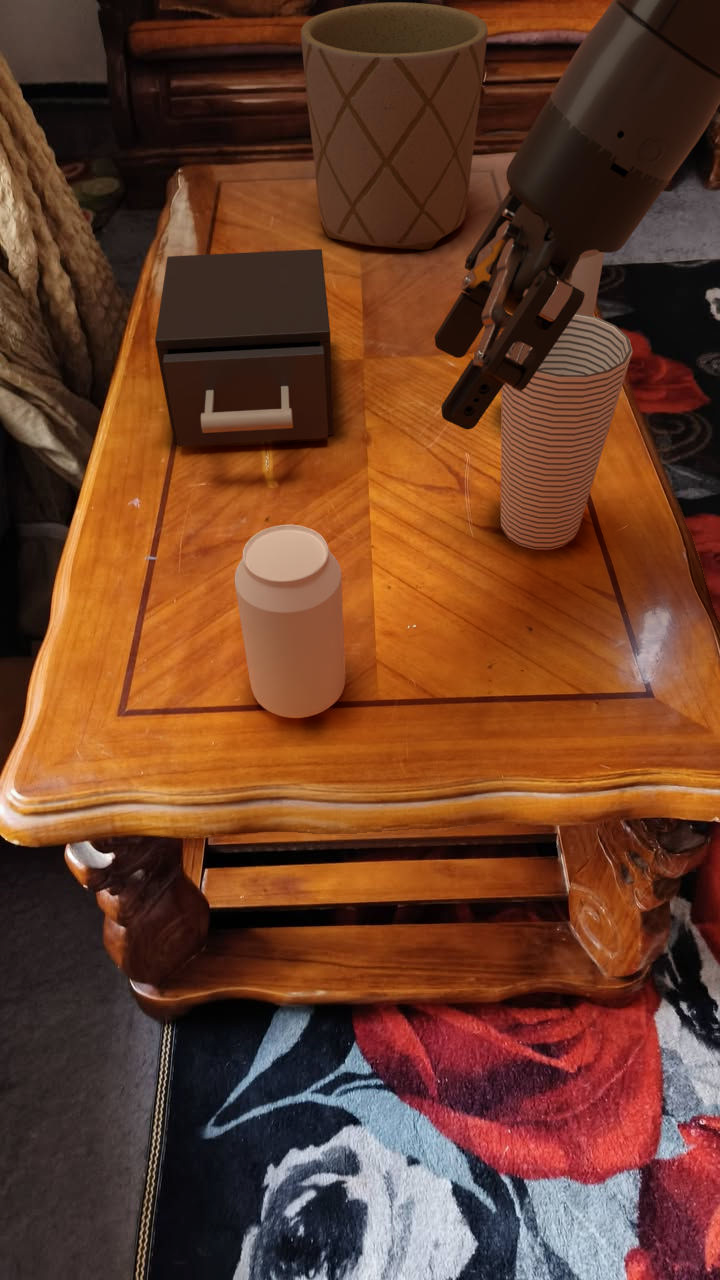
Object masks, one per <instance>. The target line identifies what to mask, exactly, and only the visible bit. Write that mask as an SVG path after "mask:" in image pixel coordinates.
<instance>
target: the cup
mask: <svg viewBox="0 0 720 1280" xmlns="http://www.w3.org/2000/svg"><path fill="white" fill-rule="evenodd" d="M513 347H514V344H513V345H512V346H511V348H510V350H509V351H508V353H507V354H506V356H507V357H510V354H511V352H512V349H513ZM531 350H532V347H530V348H529V351H528V353H527V356H528V354H529V353H530V351H531ZM633 352H634V351H633V347H632V344H631V340H630V338H629V336H628V335H627V334H625V333H624V332H623V331H622V330H621V329H620V328H619V327H618V326H617V325H615V324H613V323H610V322H608V321H606V320H604V319H601V318H599V317H598V316H595V315H594V316H589V315H584V314H579V313H576V314H575V315H574V317H573V318H572V320H571V321H570V323H569V324H568V326H567V327H566V329H565V330H564V331H563V333H562V334H561V336H560V337H559V339H558V340H557V342H556V343H555V345H554V346H553V348H552V349H551V351H550V352H549V354H548V355H547V357H546V358H545V360H544V361H543V362H542V364H541V365H540V367H539V368H538V370H537V371H536V373H535V374H534V376H533V377H532V379H531V380H530V382H529V383H528V385H527V386H526V387H525V389H523V390H522V391H519V390H517V389H515V388H513V387H512V386H510V385H508V384H506V383H505V384H504V385H503V387H502V388H501V404H500V406H501V414H500V418H501V419H500V434H501V435H500V528H501V530H502V531H503V533H504V534H505V535H506V536H507V538H508V540H511V541H512V542H514V543H516V544H517V545H519V546H520V547H524V548H527V549H532V550H542V551H543V550H545V551H547V550H548V551H550V550H554V549H558V548H562V547H564V546H565V545H567V544H569V543H570V542H571V541H573V540H574V539H575V537H576V535H577V533H578V531H579V529H580V526H581V522H582V519H583V517H584V514H585V513H584V512H585V509H586V506H587V504H588V500H589V496H590V494H591V490H592V487H593V483H594V480H595V476H596V474H597V470H598V467H599V463H600V460H601V458H602V454H603V451H604V448H605V444H606V440H607V437H608V433H609V431H610V427H611V424H612V421H613V418H614V415H615V411H616V407H617V404H618V402H619V398H620V395H621V391H622V388H623V384H624V382H625V378H626V375H627V371H628V368H629V365H630V362H631V359H632V356H633ZM527 356H526V357H527ZM525 359H526V358H525Z"/></svg>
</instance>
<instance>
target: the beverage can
mask: <svg viewBox="0 0 720 1280" xmlns="http://www.w3.org/2000/svg"><path fill="white" fill-rule="evenodd" d="M342 583H343V582H342V569H341V565H340V563H339V561H338V559H337V558H336V556H335V555H334V554H333V553H332V552H331V550H330V549H329V545H328V543H327V541H326V539H325V538H324V537H323V535H321V534H320V533H319V532H318V531H316V530H314V529H312V528H310V527H307V526H304V525H298V524H278V525H273V526H270V527H267V528H264V529H262V530H260V531H258V532H257V533H256V534H254V535H252V536H251V537H250V538H249V539H248V540H247V542H246V543H245V545H244V547H243V549H242V557H241V560H240V562H239V563H238V565H237V567H236V569H235V572H234V588H235V593H236V600H237V606H238V607H237V608H238V613H239V620H240V626H241V627H240V628H241V633H242V639H243V646H244V652H245V658H246V664H247V671H248V677H249V684H250V687H251V692H252V694H253V696H254V698H255V700H256V701H257V703H258V704H259V705H260V706H261V707H262V708H263V709H265V710H266V711H268V712H270V713H272V714H274V715H277V716H279V717H283V718H288V719H289V718H290V719H291V718H292V719H300V718H308V717H312V716H315V715H318V714H320V713H322V712H324V711H327V709H329V708H331V707H332V706H333V705H334V704H335V703H336V702H337V701H338V700H339V698H340V697H341V695H342V693H343V692H344V689H345V684H346V655H345V654H346V652H345V650H346V649H345V629H344V628H345V627H344V609H343V608H344V605H343V584H342Z"/></svg>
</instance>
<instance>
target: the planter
mask: <svg viewBox="0 0 720 1280" xmlns="http://www.w3.org/2000/svg"><path fill="white" fill-rule="evenodd" d="M300 38H301V39H300V40H301V48H302V49H301V51H302V59H303V70H304V72H303V73H304V82H305V90H306V91H305V92H306V99H307V108H308V117H309V127H310V136H311V144H312V145H311V146H312V154H313V155H312V156H313V164H314V172H315V182H316V193H317V205H318V211H319V217H320V220H321V223H322V226H323V229H324V232H325V234H326V235H327V237H328V238H330V239H333V240H338V241H344V242H349V243H354V244H358V245H362V246H363V245H364V246H369V247H380V248H391V249H392V248H394V249H408V250H417V251H418V250H419V251H428V250H431V249H432V248H433V247H434V246H435V245H436V244H437V242H438V241H440V239H442V238H444V237H446V236H447V235H449V234H450V233H452V232H454V231H456V230H457V229H458V228H459V227H460V226H461V225H462V223H463V222H464V220H465V217H466V213H467V208H468V207H467V206H468V196H469V190H470V189H469V187H470V180H471V172H472V163H473V156H474V148H475V140H476V131H477V124H478V119H479V118H478V117H479V110H480V100H481V93H482V86H483V85H482V84H483V76H484V70H485V59H486V52H487V51H486V50H487V41H488V26H487V24H486V22H485V21H484V20H483V19H482V18H480V17H479V16H477V15H475V14H474V13H471V12H468V11H465V10H464V9H463V10H462V9H459V8H455V7H450V6H445V5H441V4H440V5H439V4H433V3H432V4H431V3H423V2H422V3H420V2H400V1H399V2H398V1H397V2H396V1H395V2H374V3H364V4H356V5H355V4H354V5H350V6H344V7H339V8H334V9H331V10H327V11H325V12H322V13H319V14H317V15H315V16H313V17H312V18H310V19H309V20H308V19H307V21H305V22H304V24H303V25H302V27H301V30H300Z"/></svg>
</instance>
